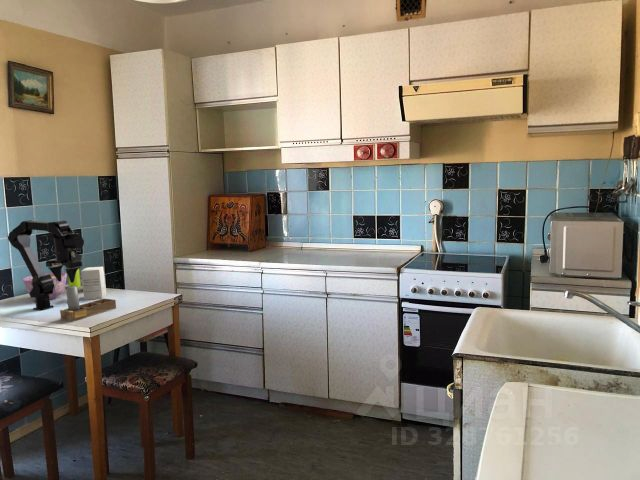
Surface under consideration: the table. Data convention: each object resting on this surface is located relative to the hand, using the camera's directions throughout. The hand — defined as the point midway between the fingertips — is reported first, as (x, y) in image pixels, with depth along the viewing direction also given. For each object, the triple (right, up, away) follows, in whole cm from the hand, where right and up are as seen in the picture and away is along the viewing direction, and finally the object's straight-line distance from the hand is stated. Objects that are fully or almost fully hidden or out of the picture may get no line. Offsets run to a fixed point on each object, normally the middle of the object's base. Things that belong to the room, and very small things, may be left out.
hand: (66, 281), depth 238 cm
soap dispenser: (-22, -7, +54) cm, 59 cm away
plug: (+11, -14, -15) cm, 23 cm away
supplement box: (+3, -10, +24) cm, 26 cm away
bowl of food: (-23, -11, +27) cm, 37 cm away
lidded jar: (-7, -8, +43) cm, 45 cm away
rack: (+14, -14, -8) cm, 21 cm away
